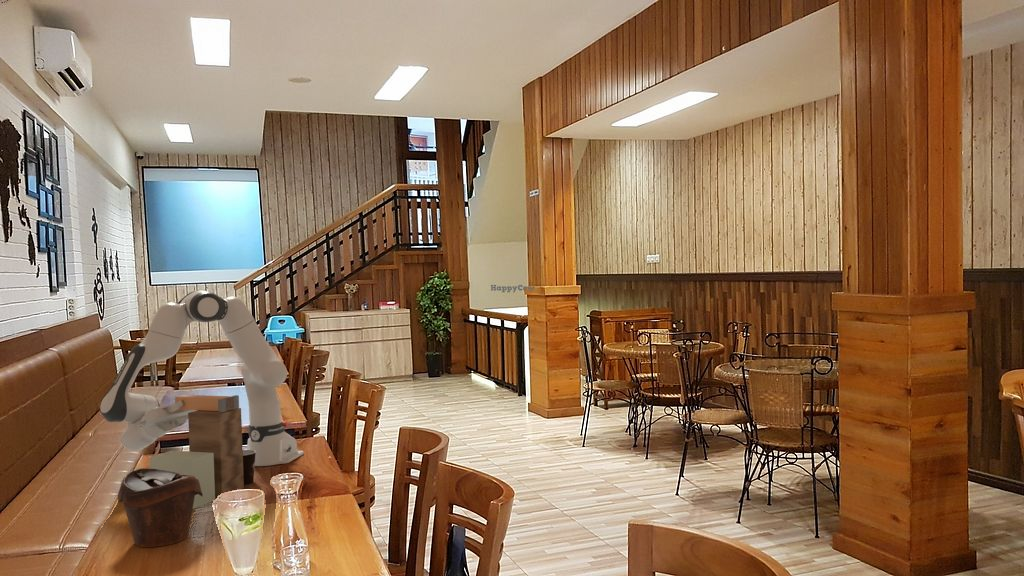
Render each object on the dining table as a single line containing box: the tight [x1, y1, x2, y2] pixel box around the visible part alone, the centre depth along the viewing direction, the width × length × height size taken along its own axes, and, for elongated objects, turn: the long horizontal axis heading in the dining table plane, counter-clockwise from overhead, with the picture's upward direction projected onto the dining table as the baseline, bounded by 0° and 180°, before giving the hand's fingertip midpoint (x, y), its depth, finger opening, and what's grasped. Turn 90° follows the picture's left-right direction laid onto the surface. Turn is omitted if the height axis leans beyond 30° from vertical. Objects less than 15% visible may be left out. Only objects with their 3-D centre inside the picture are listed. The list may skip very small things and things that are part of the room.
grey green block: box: [148, 449, 216, 510], centre depth 220 cm, size 9×16×14 cm, turn 71°
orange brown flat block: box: [174, 394, 240, 413], centre depth 231 cm, size 8×20×4 cm, turn 71°
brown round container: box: [117, 467, 203, 549], centre depth 188 cm, size 18×20×18 cm
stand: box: [187, 407, 245, 498], centre depth 230 cm, size 10×12×26 cm
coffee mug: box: [243, 449, 256, 486], centre depth 242 cm, size 12×9×10 cm
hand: (189, 400), depth 233 cm, fingers closed on orange brown flat block, 4 cm apart
